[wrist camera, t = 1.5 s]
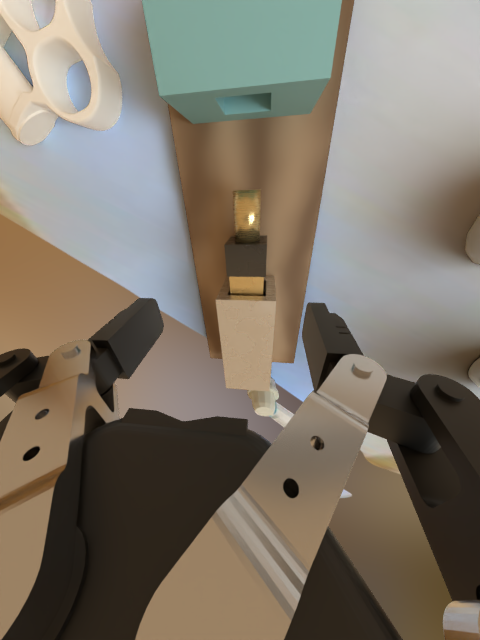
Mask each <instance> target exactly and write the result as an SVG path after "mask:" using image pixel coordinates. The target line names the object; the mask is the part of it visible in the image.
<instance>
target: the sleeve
mask: <svg viewBox="0 0 480 640" xmlns="http://www.w3.org/2000/svg"><path fill="white" fill-rule="evenodd" d="M216 308H217V316H218V324H219V333H220V341H221V349H222V358H223V365H224V374H225V382H226V388H232V389H245V390H257V391H269V390H270V377H271V364H272V351H273V338H274V325H275V312H276V288H275V276H266V277H264V290H263V296H235V295H230V281H229V277H227V276H226V278H225V281H224V283H223V285H222V287H221V289H220V291H219V293H218V295H217V298H216Z"/></svg>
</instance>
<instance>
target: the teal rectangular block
mask: <svg viewBox="0 0 480 640" xmlns="http://www.w3.org/2000/svg"><path fill="white" fill-rule="evenodd" d="M142 4H143V10H144V15H145V21H146V26H147V32H148V37H149V43H150V48H151V54H152V59H153V65H154V70H155V76H156V81H157V87H158V92H159V96H160V97H161V98H162V99H163V100H165V101H166V102H167V103H168V104H170V105H171V106H172V107H173V108H174V109H176V110H177V111H178V112H179V113H180V114H182V115H183V116H184V117H185V118H186V119H188V120H189V121H190V122H191V123H193V124H197V123H209V122H221V121H232V120H244V119H256V118H267V117H279V116H291V115H302V114H310V113H311V111H312V110H313V108H314V106H315V104H316V103H317V101H318V99H319V97H320V96H321V94H322V92H323V90H324V89H325V87H326V85H327V83H328V82H329V80H330V78H331V72H332V65H333V58H334V51H335V45H336V38H337V31H338V24H339V17H340V11H341V4H342V0H142Z"/></svg>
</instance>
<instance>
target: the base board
mask: <svg viewBox="0 0 480 640" xmlns="http://www.w3.org/2000/svg"><path fill="white" fill-rule="evenodd" d="M353 5H354V0H342V4H341V11H340V17H339V24H338V31H337V38H336V45H335V51H334V58H333V65H332V72H331V78H330V80H329V82H328V83H327V85H326V87H325V89H324V90H323V92H322V94H321V96H320V97H319V99H318V101H317V103H316V104H315V106H314V108H313V110H312V111H311V113H310V114H302V115H291V116H279V117H267V118H256V119H244V120H232V121H221V122H209V123H197V124H193V123H191V122H190V121H189V120H188V119H186V118H185V117H184V116H183V115H182V114H180V113H179V112H178V111H177V110H176V109H174V108H173V107H172V106H171V105H170V104H168V108H169V114H170V120H171V126H172V132H173V137H174V143H175V149H176V155H177V161H178V167H179V173H180V179H181V185H182V191H183V197H184V203H185V209H186V215H187V221H188V227H189V233H190V239H191V245H192V251H193V256H194V262H195V268H196V274H197V280H198V286H199V292H200V298H201V304H202V310H203V316H204V322H205V328H206V334H207V340H208V345H209V352H210V357H211V358H218V359H223V358H222V349H221V341H220V333H219V324H218V316H217V308H216V298H217V295H218V293H219V291H220V289H221V287H222V285H223V283H224V281H225V278H226V276H227V273H226V260H225V247H224V245H225V243H226V242H227V241H228V239H229V238H230V237H231V236H235V231H234V211H233V191H234V190H256V189H261V206H260V236H263V235H267V259H266V276H275V288H276V312H275V325H274V338H273V351H272V362H281V363H294V358H295V352H296V346H297V340H298V334H299V328H300V322H301V316H302V310H303V304H304V298H305V292H306V286H307V280H308V274H309V268H310V262H311V256H312V250H313V244H314V238H315V232H316V226H317V220H318V214H319V208H320V202H321V196H322V190H323V184H324V178H325V172H326V166H327V160H328V154H329V148H330V142H331V136H332V130H333V125H334V119H335V113H336V107H337V101H338V95H339V89H340V83H341V77H342V71H343V65H344V59H345V53H346V47H347V41H348V35H349V29H350V23H351V17H352V11H353Z"/></svg>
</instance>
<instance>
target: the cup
mask: <svg viewBox="0 0 480 640" xmlns="http://www.w3.org/2000/svg"><path fill="white" fill-rule="evenodd" d="M465 252H466V253H467V255H468V256H469V258H470V259H471V261H472V262H474V263H476V264H479V265H480V214H479V216H478V217H477V219H476V220H475V222H474V224H473V225H472V227H471V228H470V230H469V232H468V233H467V238H466V246H465Z"/></svg>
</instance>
